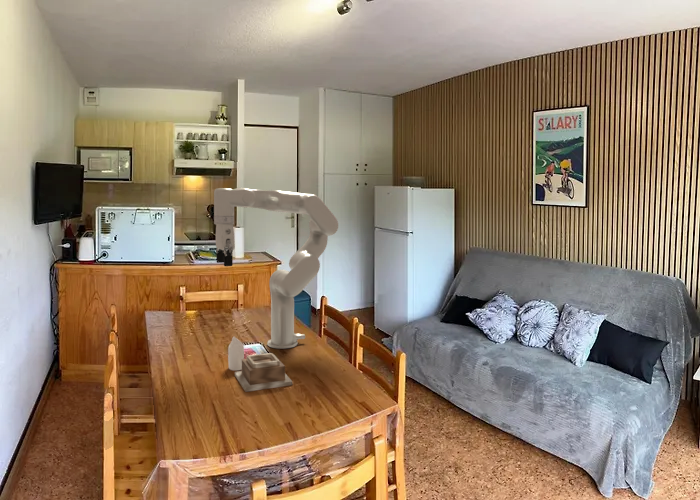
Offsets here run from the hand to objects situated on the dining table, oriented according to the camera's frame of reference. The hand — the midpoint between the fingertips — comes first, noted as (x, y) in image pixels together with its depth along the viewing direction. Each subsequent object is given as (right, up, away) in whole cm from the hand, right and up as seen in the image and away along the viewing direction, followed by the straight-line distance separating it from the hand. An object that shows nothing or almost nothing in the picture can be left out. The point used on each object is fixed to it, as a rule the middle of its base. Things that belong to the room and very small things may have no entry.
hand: (224, 264), depth 206 cm
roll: (+7, -38, -13) cm, 41 cm away
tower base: (+19, -39, -24) cm, 50 cm away
